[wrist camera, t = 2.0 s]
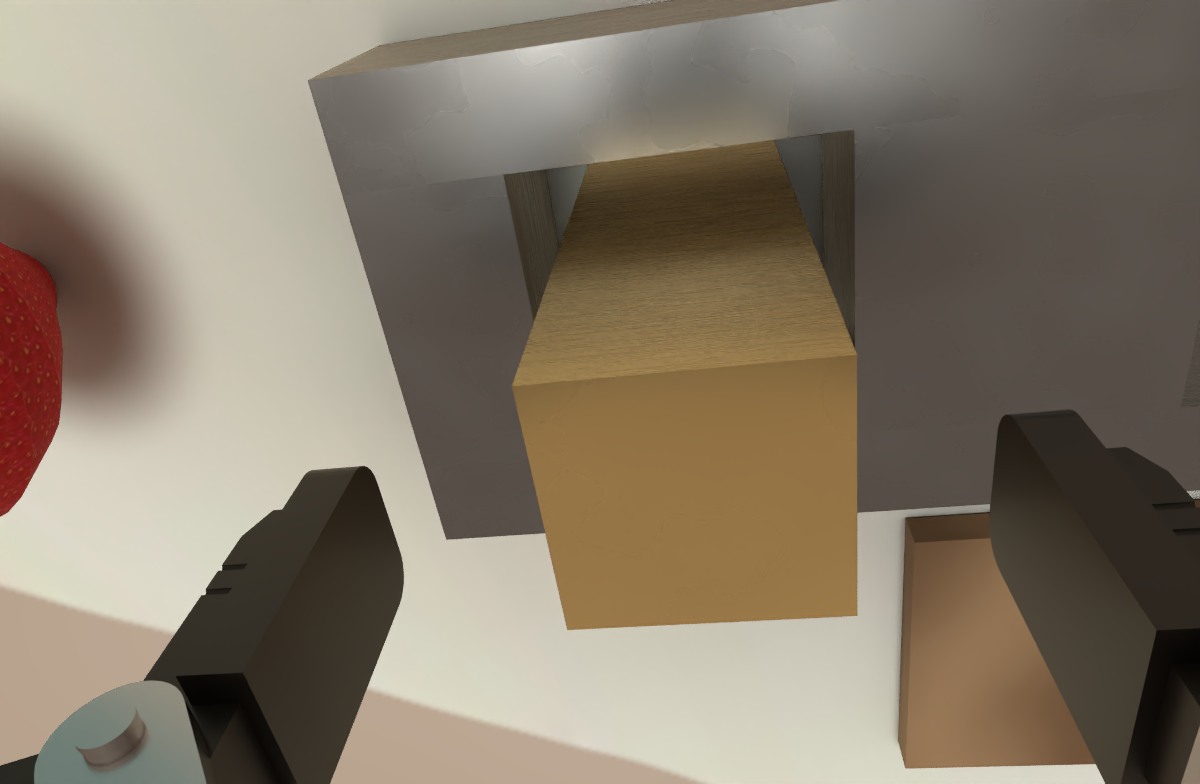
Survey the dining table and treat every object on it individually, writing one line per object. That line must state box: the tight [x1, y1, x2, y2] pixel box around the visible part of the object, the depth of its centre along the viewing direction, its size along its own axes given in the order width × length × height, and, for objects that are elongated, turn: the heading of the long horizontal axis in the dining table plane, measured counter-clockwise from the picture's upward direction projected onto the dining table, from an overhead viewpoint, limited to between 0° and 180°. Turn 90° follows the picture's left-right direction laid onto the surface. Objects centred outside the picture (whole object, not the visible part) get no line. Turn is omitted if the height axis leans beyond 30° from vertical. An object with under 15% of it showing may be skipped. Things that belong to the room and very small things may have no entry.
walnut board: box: [898, 500, 1200, 768], centre depth 24 cm, size 12×9×1 cm
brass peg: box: [512, 140, 857, 630], centre depth 15 cm, size 4×4×10 cm
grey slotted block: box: [308, 0, 1200, 540], centre depth 17 cm, size 24×10×4 cm, turn 98°
